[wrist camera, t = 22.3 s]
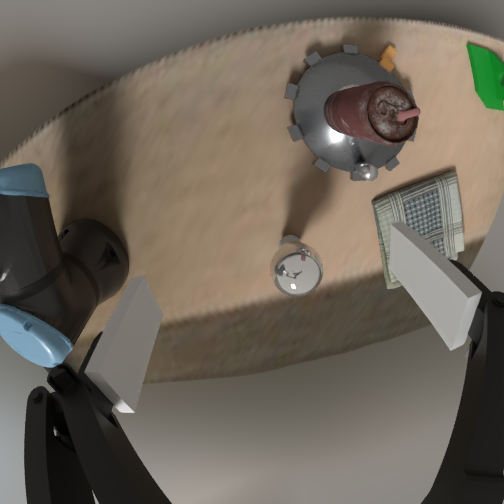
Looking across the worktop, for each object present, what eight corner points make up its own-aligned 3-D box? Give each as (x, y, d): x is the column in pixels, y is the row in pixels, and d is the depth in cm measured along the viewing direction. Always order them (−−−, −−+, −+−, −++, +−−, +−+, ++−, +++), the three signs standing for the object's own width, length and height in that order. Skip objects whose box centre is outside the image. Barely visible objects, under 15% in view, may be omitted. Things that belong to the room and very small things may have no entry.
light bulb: (300, 266, 45) (313, 313, 35) (260, 253, 44) (262, 299, 34) (318, 229, 42) (339, 268, 32) (276, 214, 41) (285, 251, 31)
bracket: (465, 45, 26) (489, 41, 20) (490, 52, 25) (513, 51, 19) (476, 106, 31) (501, 109, 25) (499, 109, 31) (523, 114, 25)
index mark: (386, 64, 30) (389, 63, 29) (378, 58, 30) (381, 57, 29) (394, 51, 29) (397, 50, 28) (387, 46, 29) (389, 44, 28)
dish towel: (367, 198, 41) (375, 204, 38) (451, 168, 37) (461, 172, 35) (384, 288, 48) (391, 298, 46) (456, 255, 45) (465, 263, 42)
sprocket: (340, 204, 39) (350, 215, 35) (253, 95, 32) (254, 91, 28) (431, 134, 33) (449, 138, 29) (360, 25, 27) (373, 16, 22)
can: (373, 125, 32) (431, 135, 20) (333, 140, 34) (378, 156, 21) (356, 84, 30) (410, 73, 17) (314, 99, 31) (352, 90, 19)
